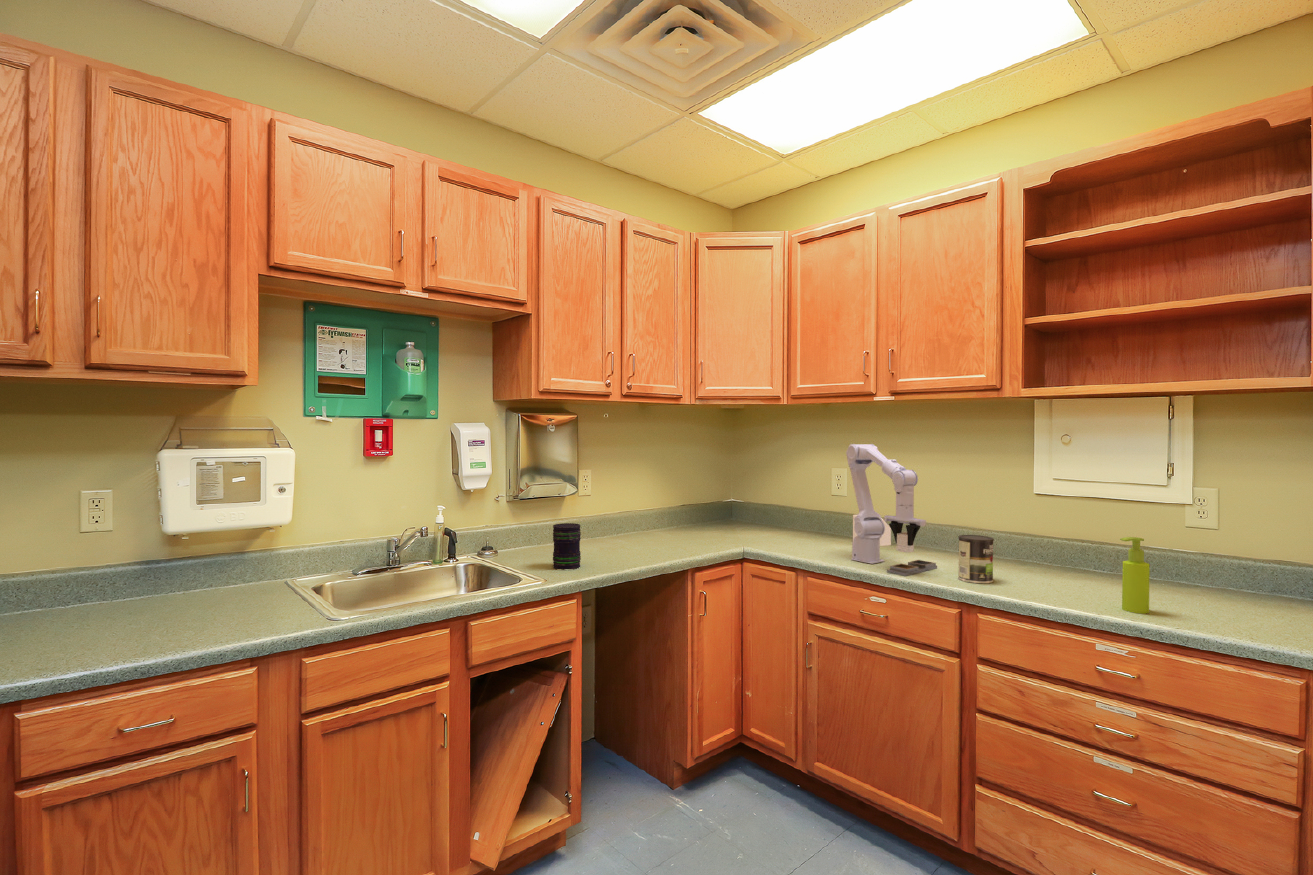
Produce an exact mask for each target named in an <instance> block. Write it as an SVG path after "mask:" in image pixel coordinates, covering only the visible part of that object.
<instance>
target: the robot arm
mask: <svg viewBox="0 0 1313 875" xmlns="http://www.w3.org/2000/svg"><path fill="white" fill-rule="evenodd" d="M845 455H846V460H847V464H848V467H849V471H850V476H851V480H852V485H853V489H854V494H855V498H856V503H857V508H858V514H856V515H857V516H856V517H855V518H854V521H855V526H854V529H855V532H856V534H857V535H858V536H856V537H855V538H854V539H853V538H852V546H851V548H852V551H851V556H852V557H851V558H850V560H851V561H855V562H862V563H866V564H871V565H872V564H873V565H874V564H877V563H883V562H885V559H882V558H880V555H881V551H880V549H881V546H880V538H881V536H882V535H883V534H884V531H885V525H884V523H883V521H882V519H883V520H884V521H885V522H889V523H888V525H889V527H890V528H891V533H892V534H893V536H894V537H893V538H894V540H895V544H896V545H897V533H900V532H903V526H904V524H906V525H905V528H906V532H907V535H908V546H912V545H913V543H914V544H915V539H916V536H917V534H918V532H919V530H920V529H921V527H925V526H927V520H926V519H921V518H916V517H914V509H915V508H914V507H915V505H914V504H915V502H914V501H915V486H916V485H917V484H918V481H919V478H918V474H917V472H916V471H915V470H914V469H907V468H906V467H905V465H904V466H903V465H901V464H900V463H898V461H897V459H894V458H893V459H891V458H890V459H888V458H887V457H886V456H885V455H884V454H883V453H881V451H879V447H878V446H876V445H875V444H874V443H868V444H865V443H864V444H857V443H856V444H855V443H851V444H849V445H848V447H847V449H846V451H845ZM873 463H874V464H876V465H878V466H880V467H881V471H882V473H884V474H885V476H887V477H888V478H890V480H892V484H893V487H894V488H893V489H894V491H895V515H889V514H888V515H887V514H886V515H884V516H883V517H884V518H882V517H881V516H882V515H881V514H880V513H878V512H877V511H876V510H875V509H874V505H873V500H872V495H871V491H870V487H869V482H868V481H869V480H868V478H867V473H866V470H867V468H869V467H870V465H872V464H873ZM881 518H882V519H881Z"/></svg>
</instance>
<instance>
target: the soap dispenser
mask: <svg viewBox="0 0 1313 875" xmlns="http://www.w3.org/2000/svg"><path fill="white" fill-rule="evenodd" d="M1119 540H1120V541H1123V542H1131V541H1132V542H1131V543H1132V547H1130V548H1129V549H1128V558H1127V560H1123V561H1122V569H1121V570H1122V576H1121V577H1122V581H1121V583H1122V584H1121V585H1122V586H1121V587H1122V588H1121V589H1122V591H1121V593H1122V594H1121V603H1122V604H1121V610H1122V611H1125V612H1128V611H1129V612H1128V613H1132V612H1133V613H1132V614H1141V615H1143V614H1144V615H1145V614H1146V613H1147V614H1149V613H1150V577H1151V576H1150V570H1151V568H1150V566H1151V565H1150V563H1149V562H1146V561H1144V559H1145V551H1144V550H1143V549H1142V548H1141V541H1142V542H1144V541H1145V539H1144V538H1142V537H1137V536H1135V537H1134V536H1126V537H1122V538H1120V539H1119Z"/></svg>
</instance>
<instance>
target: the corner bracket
mask: <svg viewBox="0 0 1313 875" xmlns="http://www.w3.org/2000/svg"><path fill="white" fill-rule="evenodd" d="M857 515H858V514H853V515H852V540H853V539H854V538H855V537H856V536H858V535H857V534H856V532H855V529H854V526H855V521H854V518H855V517H856V516H857ZM881 519H882V521H883V523H884V525H885V531H884V534H883V535H882V536H881V538H880V547H881V546H883V547H884V546H886V547H887V546H892V542H891V541H892V530H891V528H890V526H889V523H887V521H884V518H883V517H881Z"/></svg>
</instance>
